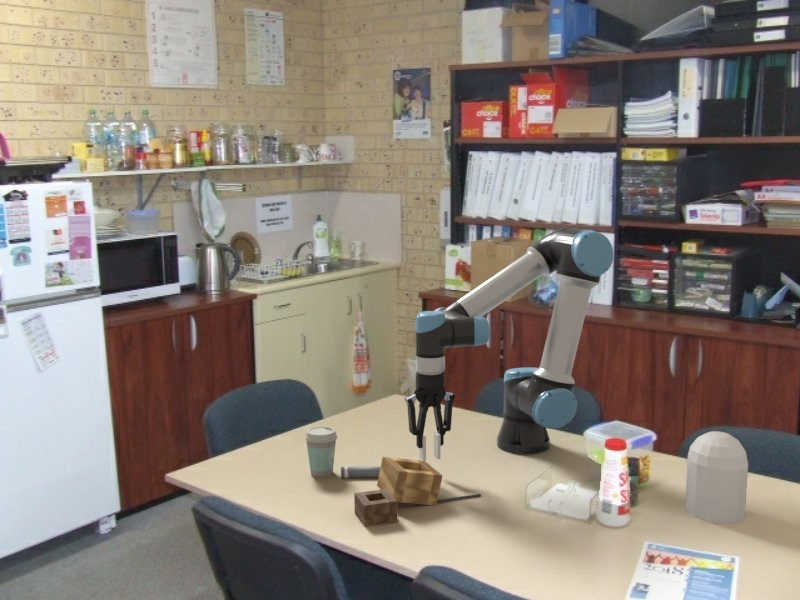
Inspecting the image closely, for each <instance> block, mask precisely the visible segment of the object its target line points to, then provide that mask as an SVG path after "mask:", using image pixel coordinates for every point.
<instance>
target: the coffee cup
mask: <svg viewBox="0 0 800 600" xmlns="http://www.w3.org/2000/svg"><path fill="white" fill-rule="evenodd" d="M304 439H305V441H306V448H307V454H308V461H309V469H310V471H309V472H310V475H311V476H312V477H315V478H326V477H330V476H331V475H333V473H334V466H335V453H336V445H337V439H338V435H337V431H336V429H334V428H333V427H330V426H315V427H311V428H309V429H307V431H306V433H305V437H304Z"/></svg>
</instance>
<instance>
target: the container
mask: <svg viewBox="0 0 800 600" xmlns="http://www.w3.org/2000/svg"><path fill="white" fill-rule="evenodd" d="M686 457H687V466H686V485H685V486H686V487H685V503H684V504H685V505H684V508H685V511H686V513H688V515H690V516H691V517H693V518H695V519H698V520H701V521H703V522H708V523H712V524H725V525H726V524H733V523H738V522H740V521H742V520H744V519H745V516H746V505H747V492H748V491H747V488H748V474H749V473H748V472H749V462H748V456H747V451H746V449H745V448H744V447H743V445H742V444H741V442H740V441H739V439H737V438H736V437H735V436H732V435H731V434H730V433H727V432H725V431H724V432H723V431H717V430H713V431H708V432H706V433H703V434H700V435H699V436H698V437H696V438H695V440H694V441H693V442H692V443H691V444H690V446H689V450H688V453H687V456H686Z"/></svg>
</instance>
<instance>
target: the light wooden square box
mask: <svg viewBox="0 0 800 600" xmlns="http://www.w3.org/2000/svg"><path fill="white" fill-rule="evenodd" d="M380 467H381V468H380V473H379V477H377V483H376V486H377V488H379V490H382V489H387V490H388V491H389V492H390V493H391V495H392V496H393V497H394V498H395V499H396V500H397V503H404V504H406V503H407V504H417V505H418V504H427V505H429V506H430V505H431V506H434V505H438V503H437V500H439V494H440V490H441V487H442V486H441V485H442V481H443V474H441V472H439V471H438V470H436V469H435V468H434V467H433V466H432V465H430V464H429V463H428V462H427V461H423V460H419V459H418V460H417V459H411V458H410V459H407V458H399V457H391V456H390V457H389V456H382V459H381V464H380ZM427 505H426V506H427Z"/></svg>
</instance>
